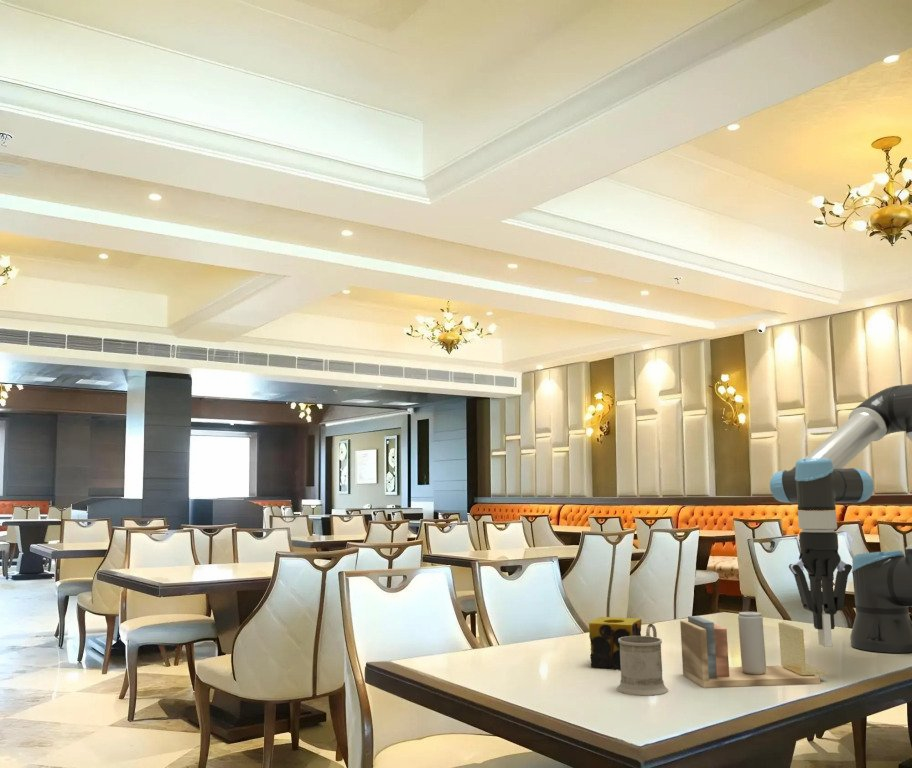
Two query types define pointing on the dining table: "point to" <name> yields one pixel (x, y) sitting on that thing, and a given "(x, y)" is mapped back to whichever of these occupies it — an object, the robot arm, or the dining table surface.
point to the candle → (610, 639)
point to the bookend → (795, 651)
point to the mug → (641, 664)
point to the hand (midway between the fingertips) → (825, 645)
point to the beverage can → (752, 643)
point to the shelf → (735, 673)
